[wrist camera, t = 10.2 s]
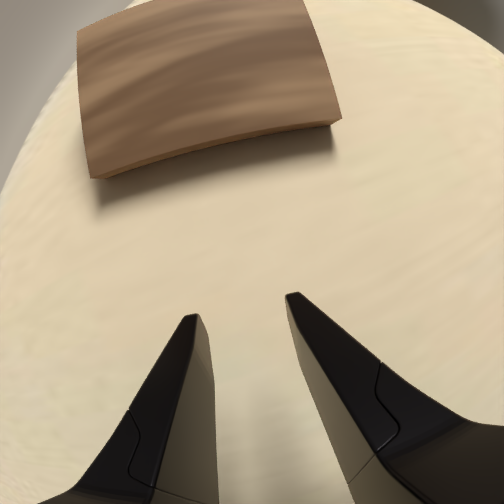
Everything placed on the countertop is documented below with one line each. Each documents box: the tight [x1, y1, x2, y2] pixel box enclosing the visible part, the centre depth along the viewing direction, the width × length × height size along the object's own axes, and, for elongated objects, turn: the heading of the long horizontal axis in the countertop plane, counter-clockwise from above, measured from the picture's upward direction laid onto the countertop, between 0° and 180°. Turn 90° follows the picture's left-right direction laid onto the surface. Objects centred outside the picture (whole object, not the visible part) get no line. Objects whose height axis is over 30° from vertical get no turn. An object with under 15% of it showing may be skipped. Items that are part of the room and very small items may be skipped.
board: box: [77, 0, 342, 179], centre depth 15 cm, size 2×16×12 cm
